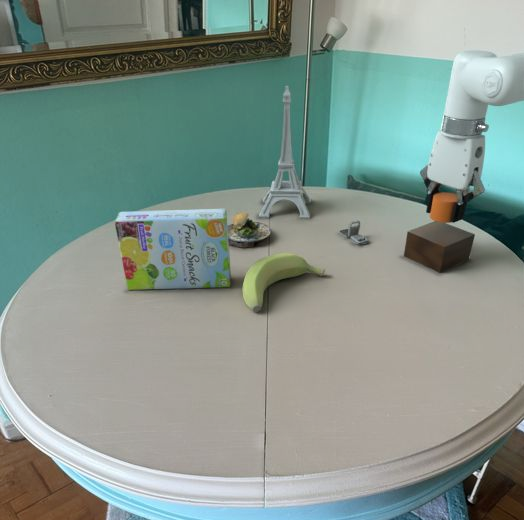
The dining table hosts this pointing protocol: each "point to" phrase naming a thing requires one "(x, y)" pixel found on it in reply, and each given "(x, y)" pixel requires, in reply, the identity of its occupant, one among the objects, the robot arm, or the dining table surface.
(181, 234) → the snack box
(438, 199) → the orange puck
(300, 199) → the eiffel tower
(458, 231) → the walnut block
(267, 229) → the burger
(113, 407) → the dining table surface
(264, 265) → the banana
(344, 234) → the strap clip
